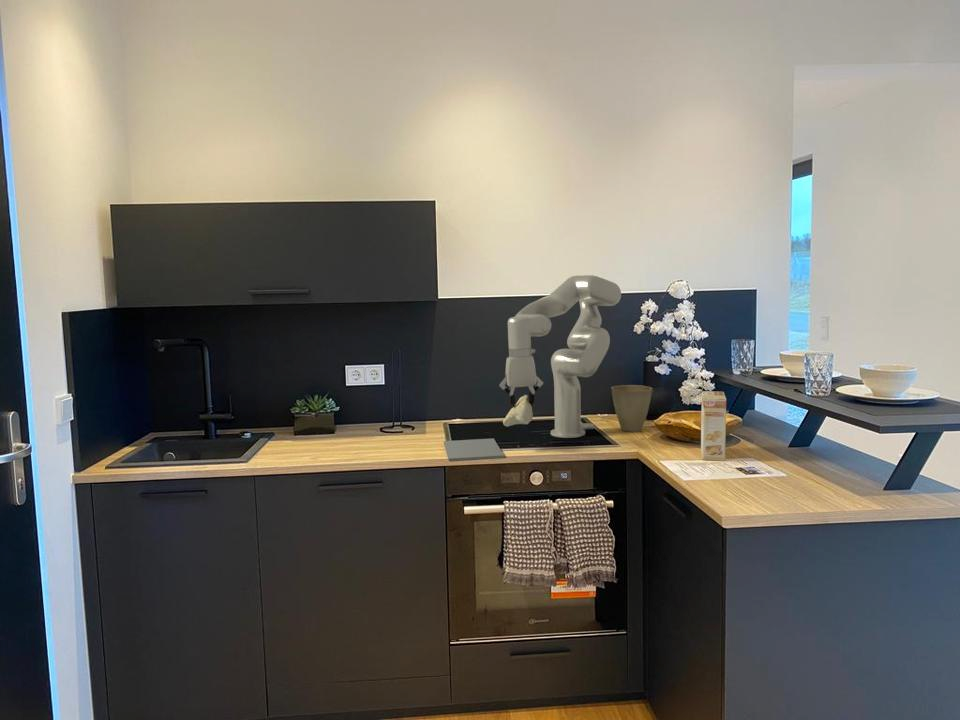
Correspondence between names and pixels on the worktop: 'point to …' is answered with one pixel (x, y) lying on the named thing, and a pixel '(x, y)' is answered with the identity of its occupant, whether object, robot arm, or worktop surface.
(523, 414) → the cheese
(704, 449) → the coffeecake box
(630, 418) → the plant pot
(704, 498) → the worktop surface
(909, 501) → the worktop surface
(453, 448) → the mat
